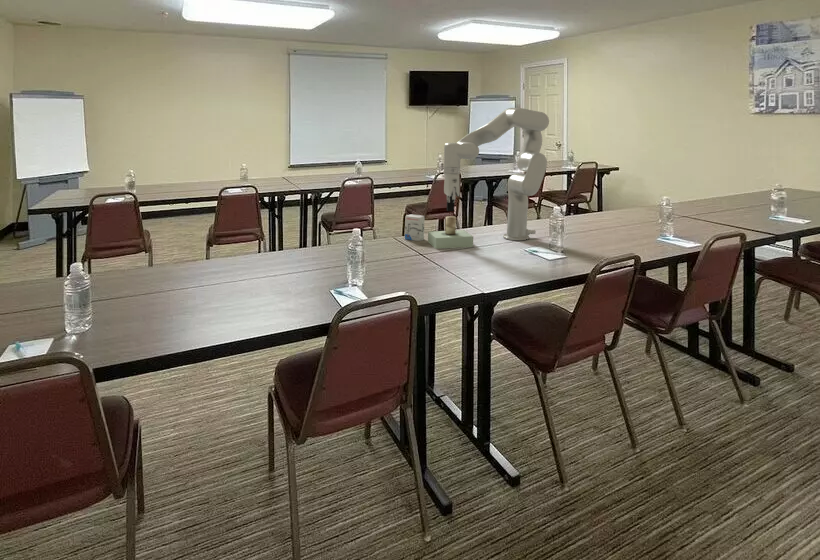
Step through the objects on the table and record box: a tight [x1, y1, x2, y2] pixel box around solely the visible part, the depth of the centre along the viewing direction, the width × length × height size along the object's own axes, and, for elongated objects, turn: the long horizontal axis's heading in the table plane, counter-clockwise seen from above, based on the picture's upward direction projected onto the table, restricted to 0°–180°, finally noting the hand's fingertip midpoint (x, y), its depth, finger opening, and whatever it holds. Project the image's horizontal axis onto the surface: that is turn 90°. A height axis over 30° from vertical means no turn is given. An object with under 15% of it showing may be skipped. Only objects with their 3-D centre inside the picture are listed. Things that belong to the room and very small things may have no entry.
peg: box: [444, 215, 457, 235], centre depth 256 cm, size 5×5×12 cm
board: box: [427, 229, 474, 250], centre depth 258 cm, size 18×14×5 cm
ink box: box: [404, 213, 426, 242], centre depth 267 cm, size 9×5×12 cm, turn 62°
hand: (450, 210), depth 254 cm, fingers closed
